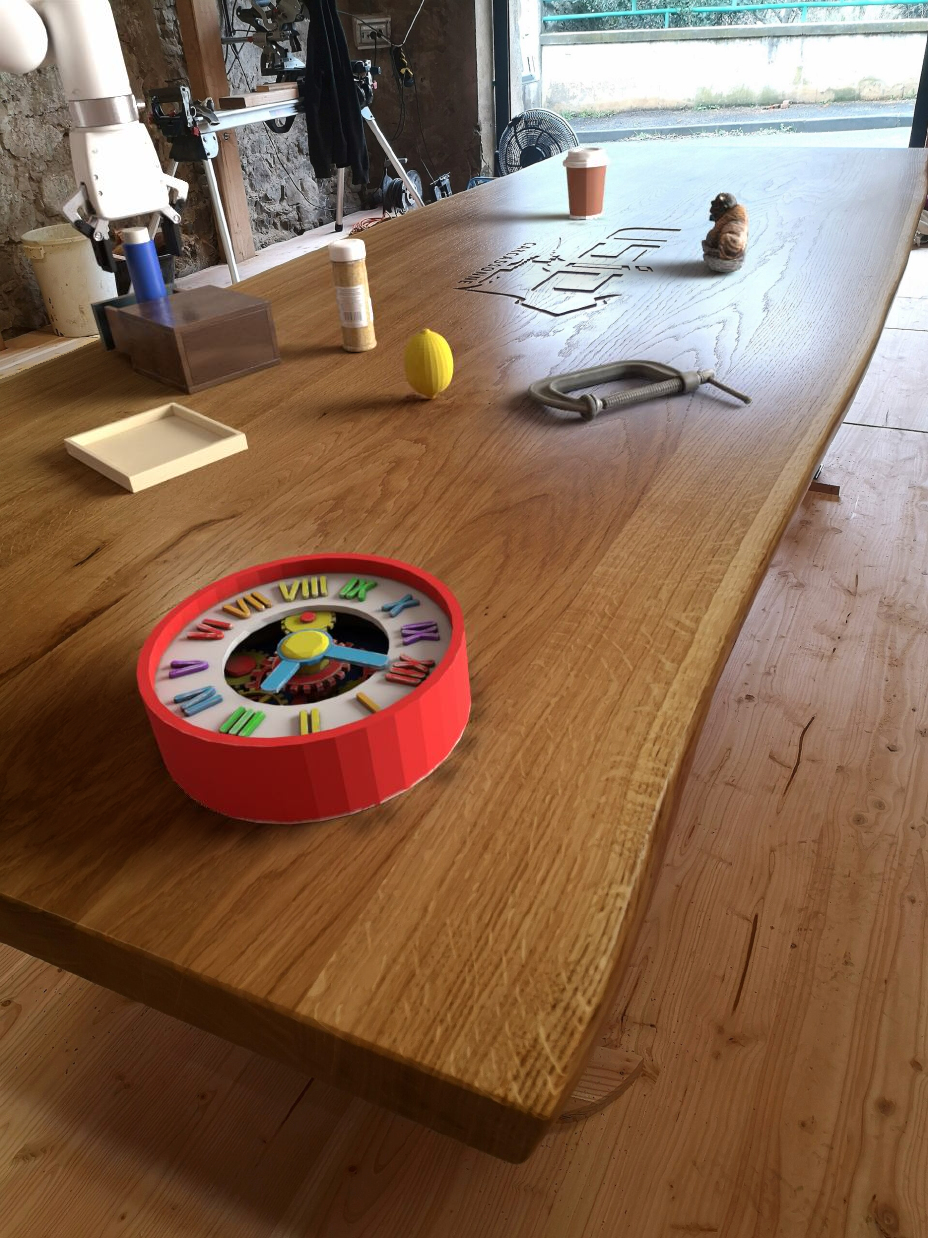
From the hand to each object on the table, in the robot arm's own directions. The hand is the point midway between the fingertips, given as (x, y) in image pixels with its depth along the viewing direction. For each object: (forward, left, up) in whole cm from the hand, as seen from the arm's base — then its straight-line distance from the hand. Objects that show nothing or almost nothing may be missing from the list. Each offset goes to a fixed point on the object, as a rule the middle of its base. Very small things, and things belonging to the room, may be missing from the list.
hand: (143, 262), depth 118 cm
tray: (+31, -18, -12) cm, 38 cm away
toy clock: (+79, -32, -12) cm, 86 cm away
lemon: (+44, +10, -12) cm, 47 cm away
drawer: (-1, 0, -11) cm, 11 cm away
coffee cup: (-5, +97, -12) cm, 98 cm away
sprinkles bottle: (+22, +17, -12) cm, 30 cm away
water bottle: (0, 0, -10) cm, 10 cm away
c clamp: (+62, +23, -12) cm, 67 cm away
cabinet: (+11, 0, -12) cm, 16 cm away
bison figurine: (+40, +76, -12) cm, 87 cm away
